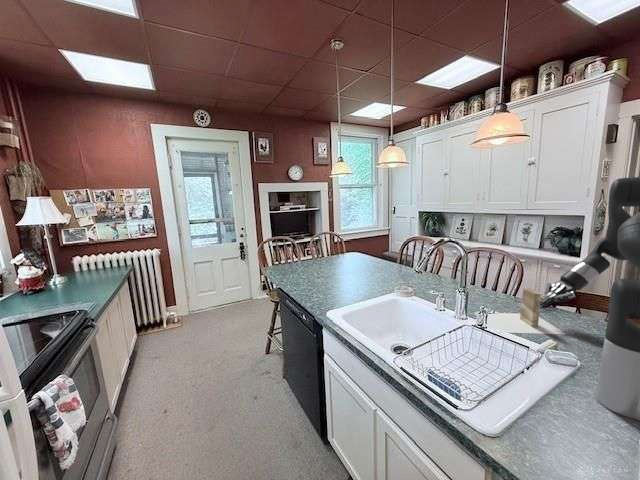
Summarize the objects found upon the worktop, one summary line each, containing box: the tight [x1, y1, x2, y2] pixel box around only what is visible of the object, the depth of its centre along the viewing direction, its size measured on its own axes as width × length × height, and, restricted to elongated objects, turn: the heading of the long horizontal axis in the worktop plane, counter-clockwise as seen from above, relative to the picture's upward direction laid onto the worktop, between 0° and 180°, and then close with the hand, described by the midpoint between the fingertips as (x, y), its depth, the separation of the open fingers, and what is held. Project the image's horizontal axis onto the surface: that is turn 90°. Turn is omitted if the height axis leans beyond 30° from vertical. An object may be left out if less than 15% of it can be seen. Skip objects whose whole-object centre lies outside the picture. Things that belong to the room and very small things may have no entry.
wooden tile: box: [519, 287, 542, 327], centre depth 110 cm, size 3×7×14 cm, turn 175°
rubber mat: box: [473, 312, 567, 335], centre depth 112 cm, size 26×18×1 cm
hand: (542, 304), depth 109 cm, fingers closed
